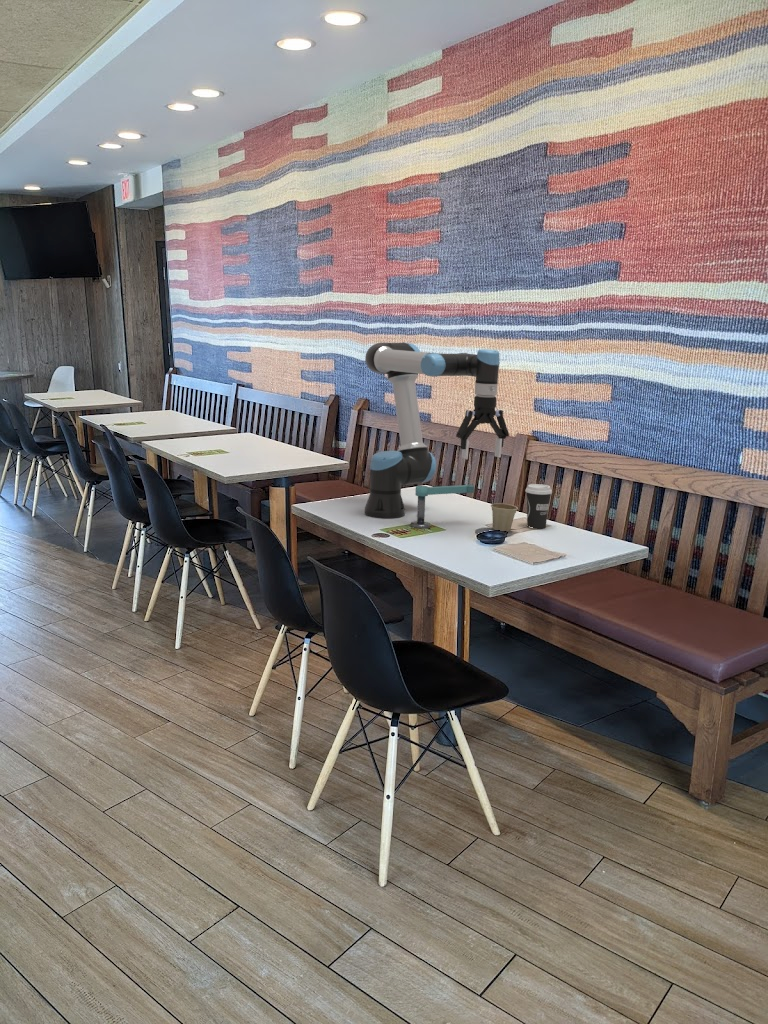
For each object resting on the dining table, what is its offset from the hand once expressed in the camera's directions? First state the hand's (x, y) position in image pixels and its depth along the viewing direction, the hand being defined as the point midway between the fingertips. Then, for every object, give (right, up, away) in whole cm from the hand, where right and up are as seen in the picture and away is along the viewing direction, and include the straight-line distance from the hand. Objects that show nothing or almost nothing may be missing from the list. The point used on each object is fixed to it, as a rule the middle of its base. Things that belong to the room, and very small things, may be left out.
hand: (481, 457), depth 286 cm
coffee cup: (+21, -24, +13) cm, 35 cm away
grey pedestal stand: (-21, -24, +10) cm, 33 cm away
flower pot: (+8, -25, +5) cm, 27 cm away
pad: (+5, -26, +3) cm, 27 cm away
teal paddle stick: (-12, -12, +10) cm, 20 cm away
